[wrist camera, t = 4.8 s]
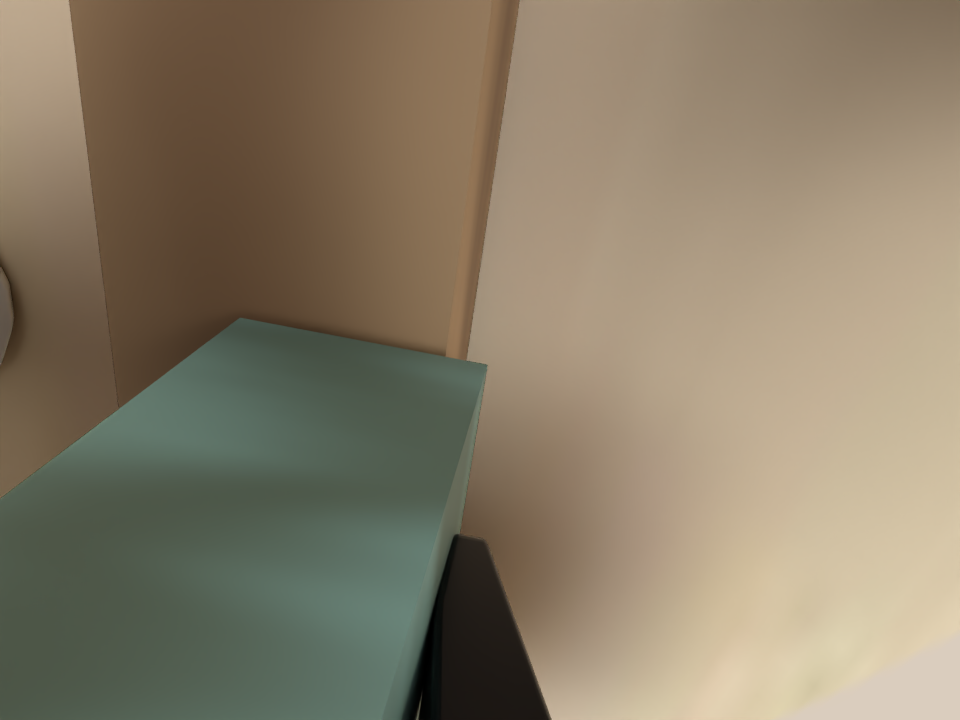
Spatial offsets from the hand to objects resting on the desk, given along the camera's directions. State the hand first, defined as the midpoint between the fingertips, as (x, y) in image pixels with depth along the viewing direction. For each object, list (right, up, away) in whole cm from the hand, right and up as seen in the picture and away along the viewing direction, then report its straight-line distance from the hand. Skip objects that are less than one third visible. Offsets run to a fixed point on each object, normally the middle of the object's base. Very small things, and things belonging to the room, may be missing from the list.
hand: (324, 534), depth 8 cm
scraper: (0, +2, +4) cm, 5 cm away
